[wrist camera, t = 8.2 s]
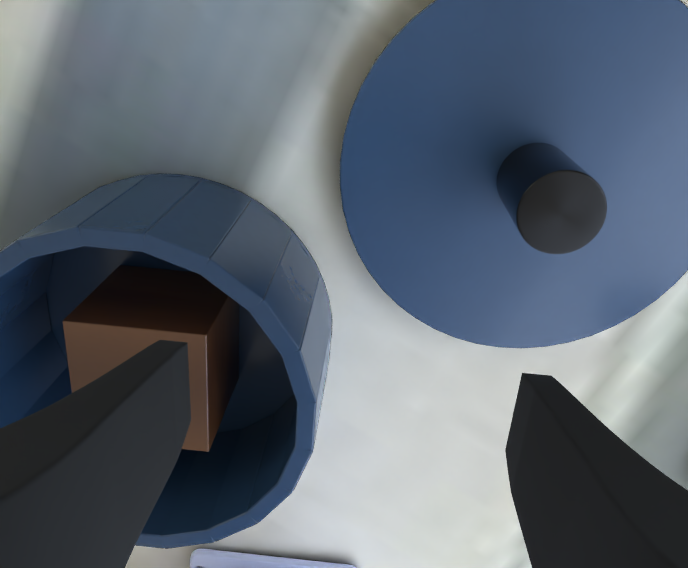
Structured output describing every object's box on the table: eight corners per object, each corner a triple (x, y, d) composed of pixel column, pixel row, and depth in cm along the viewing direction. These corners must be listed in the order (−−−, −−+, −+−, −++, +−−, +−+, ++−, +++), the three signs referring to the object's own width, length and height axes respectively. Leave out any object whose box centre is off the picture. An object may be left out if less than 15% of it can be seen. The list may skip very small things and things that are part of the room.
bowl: (322, 451, 27) (305, 564, 21) (57, 423, 27) (-26, 528, 22) (342, 188, 22) (326, 249, 16) (18, 159, 22) (-101, 209, 17)
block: (239, 378, 25) (209, 452, 21) (128, 367, 25) (76, 438, 21) (239, 275, 23) (206, 334, 19) (119, 264, 23) (61, 320, 19)
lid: (661, 349, 24) (721, 426, 19) (330, 317, 24) (317, 385, 20) (784, -21, 18) (904, -28, 14) (357, -54, 19) (347, -71, 14)
